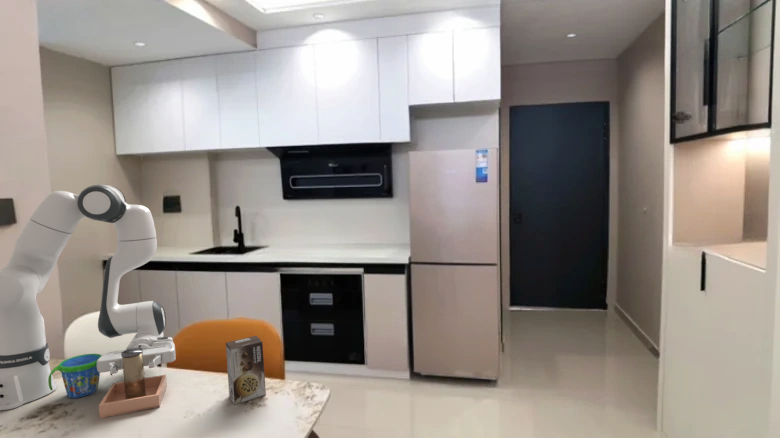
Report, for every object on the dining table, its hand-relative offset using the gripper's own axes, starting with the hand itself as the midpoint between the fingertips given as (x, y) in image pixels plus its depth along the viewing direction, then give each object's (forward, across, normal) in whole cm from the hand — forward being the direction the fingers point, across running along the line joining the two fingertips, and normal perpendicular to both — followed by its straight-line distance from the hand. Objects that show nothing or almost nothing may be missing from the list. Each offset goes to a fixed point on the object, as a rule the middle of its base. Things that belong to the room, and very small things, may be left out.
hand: (132, 368), depth 118 cm
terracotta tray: (-1, 0, +10) cm, 10 cm away
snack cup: (-13, -16, +10) cm, 23 cm away
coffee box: (+9, +30, +10) cm, 33 cm away
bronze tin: (-1, 0, +9) cm, 9 cm away
